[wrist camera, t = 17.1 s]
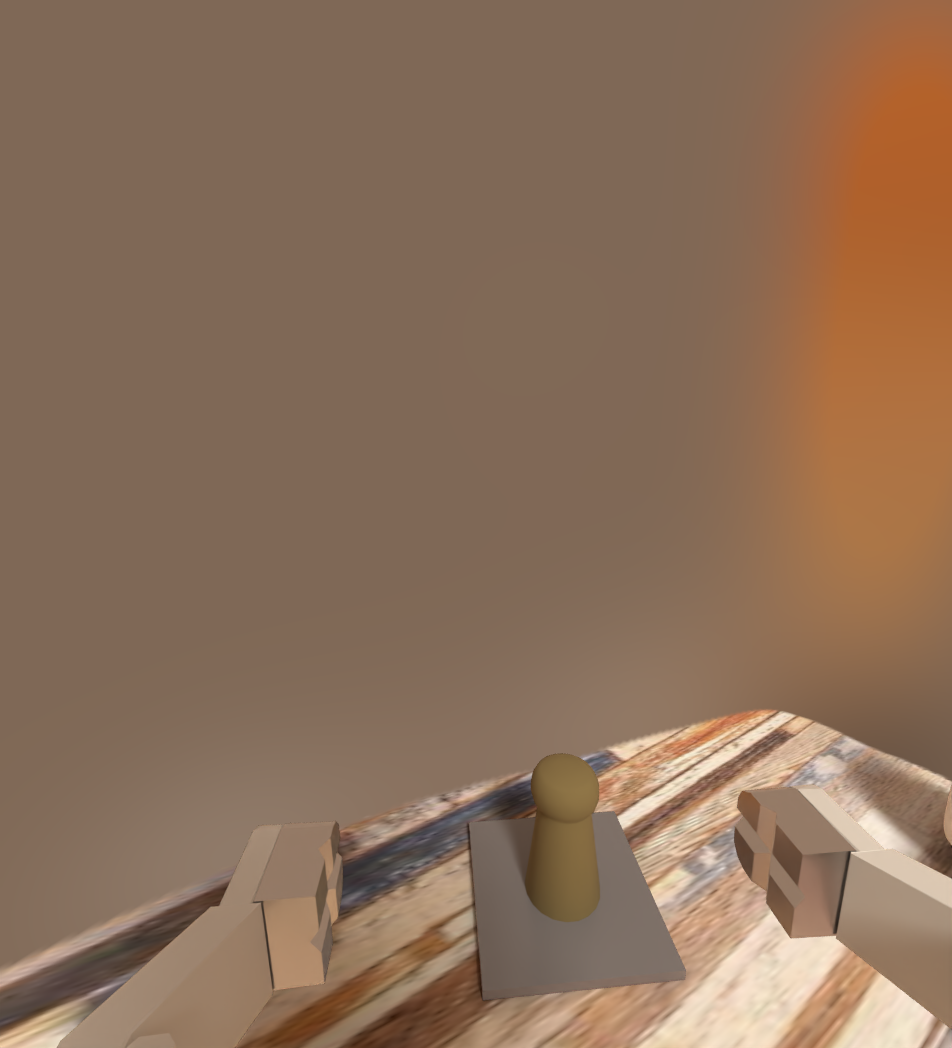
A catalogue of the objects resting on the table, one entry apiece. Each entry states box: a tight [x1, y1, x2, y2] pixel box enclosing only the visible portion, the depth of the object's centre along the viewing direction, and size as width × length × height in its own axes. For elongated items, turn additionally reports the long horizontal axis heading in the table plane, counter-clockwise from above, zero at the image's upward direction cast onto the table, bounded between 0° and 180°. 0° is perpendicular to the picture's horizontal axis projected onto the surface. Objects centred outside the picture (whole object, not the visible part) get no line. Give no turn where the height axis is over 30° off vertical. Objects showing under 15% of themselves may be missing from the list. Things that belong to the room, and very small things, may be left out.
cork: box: [525, 753, 600, 922], centre depth 39 cm, size 6×6×11 cm
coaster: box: [469, 811, 686, 1000], centre depth 40 cm, size 14×14×1 cm
